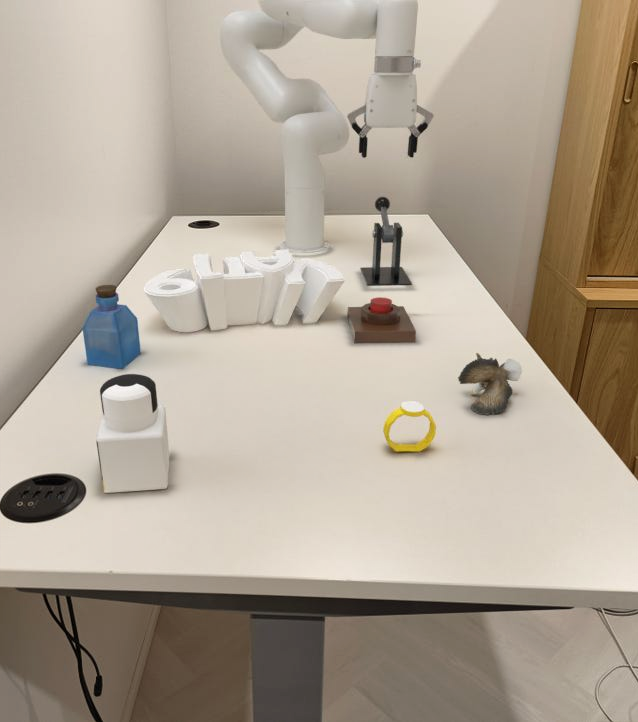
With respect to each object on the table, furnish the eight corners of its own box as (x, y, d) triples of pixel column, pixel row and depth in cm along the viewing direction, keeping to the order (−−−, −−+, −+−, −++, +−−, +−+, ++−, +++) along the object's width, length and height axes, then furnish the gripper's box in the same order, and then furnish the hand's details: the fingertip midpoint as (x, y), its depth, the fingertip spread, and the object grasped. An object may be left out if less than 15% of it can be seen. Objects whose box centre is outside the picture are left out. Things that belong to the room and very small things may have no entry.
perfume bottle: (140, 353, 111) (133, 283, 106) (122, 369, 105) (113, 295, 100) (107, 349, 113) (98, 280, 108) (87, 364, 107) (77, 292, 102)
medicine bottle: (110, 459, 82) (98, 369, 77) (169, 455, 82) (161, 366, 77) (103, 494, 75) (89, 398, 70) (167, 490, 76) (158, 394, 71)
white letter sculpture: (330, 298, 133) (331, 245, 129) (347, 329, 118) (349, 271, 114) (152, 307, 131) (147, 254, 127) (145, 339, 116) (139, 280, 112)
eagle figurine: (457, 372, 98) (443, 386, 91) (491, 337, 95) (479, 348, 87) (498, 408, 97) (487, 426, 89) (534, 373, 93) (526, 389, 86)
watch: (385, 457, 81) (388, 413, 78) (380, 444, 83) (383, 401, 81) (435, 454, 81) (439, 410, 78) (428, 442, 83) (432, 399, 81)
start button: (368, 306, 118) (369, 297, 117) (389, 306, 117) (390, 297, 117) (371, 314, 114) (371, 304, 114) (392, 313, 114) (393, 304, 113)
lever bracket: (360, 272, 148) (362, 219, 143) (401, 272, 148) (405, 218, 143) (367, 290, 137) (369, 232, 133) (411, 289, 137) (415, 231, 132)
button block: (347, 318, 123) (348, 297, 121) (402, 317, 123) (404, 296, 121) (354, 343, 112) (355, 321, 110) (415, 343, 112) (416, 320, 110)
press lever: (373, 206, 147) (374, 193, 145) (388, 205, 147) (389, 193, 145) (379, 244, 139) (381, 232, 136) (395, 244, 139) (397, 231, 136)
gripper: (433, 65, 136) (425, 153, 144) (347, 66, 137) (343, 154, 144) (441, 67, 129) (432, 159, 137) (351, 68, 130) (347, 159, 137)
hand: (387, 156), depth 140 cm, fingers open, 9 cm apart
